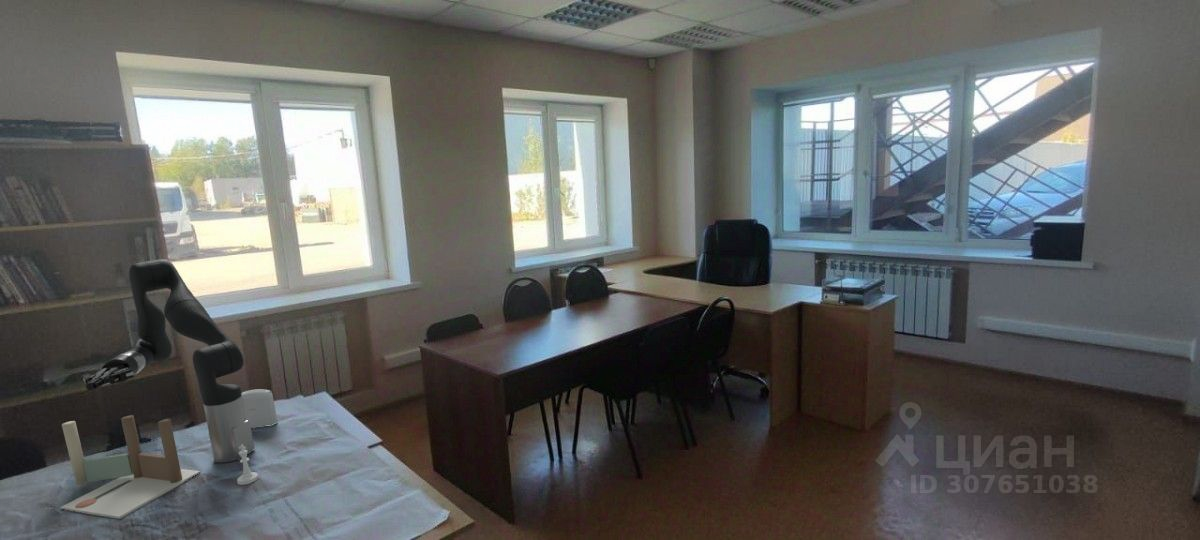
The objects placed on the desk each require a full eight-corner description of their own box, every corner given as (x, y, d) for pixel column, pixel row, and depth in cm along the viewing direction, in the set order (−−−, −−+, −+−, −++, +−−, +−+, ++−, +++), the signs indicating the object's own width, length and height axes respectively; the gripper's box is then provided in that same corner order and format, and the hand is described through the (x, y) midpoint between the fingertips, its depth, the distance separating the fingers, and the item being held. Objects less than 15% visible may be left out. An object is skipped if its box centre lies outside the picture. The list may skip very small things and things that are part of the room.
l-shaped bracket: (135, 472, 153) (122, 414, 150) (130, 477, 151) (117, 418, 147) (80, 480, 150) (65, 421, 147) (73, 486, 147) (59, 426, 144)
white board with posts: (200, 473, 153) (188, 413, 150) (119, 518, 134) (104, 451, 130) (145, 466, 158) (133, 408, 155) (60, 509, 139) (44, 444, 136)
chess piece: (248, 485, 146) (242, 450, 144) (232, 484, 147) (226, 449, 145) (263, 475, 150) (257, 440, 149) (247, 474, 151) (241, 439, 150)
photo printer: (239, 431, 178) (233, 394, 176) (245, 425, 182) (239, 389, 180) (274, 427, 180) (268, 390, 177) (279, 421, 184) (273, 385, 181)
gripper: (96, 357, 170) (58, 377, 153) (147, 352, 173) (115, 370, 157) (101, 380, 171) (64, 403, 155) (152, 374, 174) (120, 396, 158)
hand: (90, 386), depth 156 cm, fingers closed
